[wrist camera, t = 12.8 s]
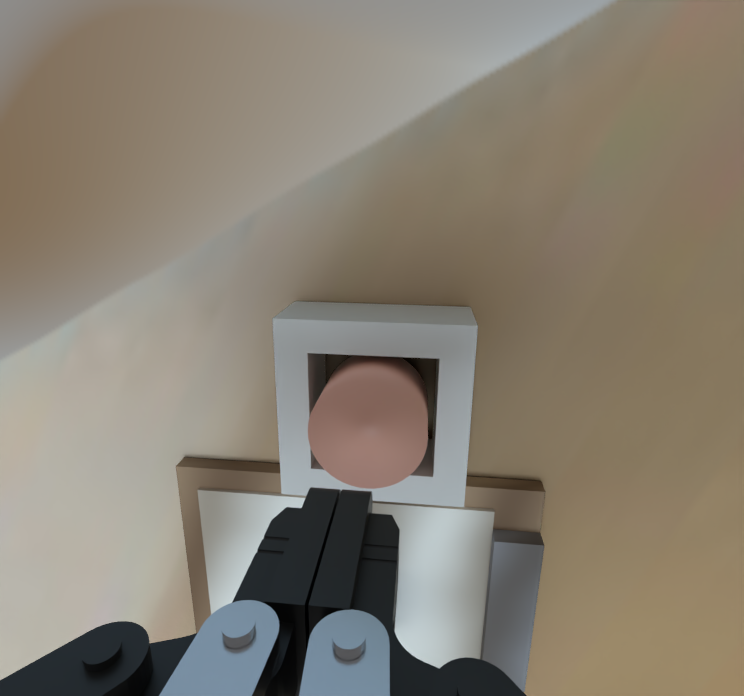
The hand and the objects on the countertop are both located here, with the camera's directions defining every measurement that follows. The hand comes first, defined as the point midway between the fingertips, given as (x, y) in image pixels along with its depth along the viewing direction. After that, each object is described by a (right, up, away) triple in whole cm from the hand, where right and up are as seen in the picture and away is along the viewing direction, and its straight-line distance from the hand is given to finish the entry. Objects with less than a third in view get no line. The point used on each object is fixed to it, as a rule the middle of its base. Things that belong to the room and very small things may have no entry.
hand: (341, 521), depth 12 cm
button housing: (+1, +3, +9) cm, 9 cm away
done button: (+1, +2, +7) cm, 8 cm away
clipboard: (0, -7, +12) cm, 13 cm away
